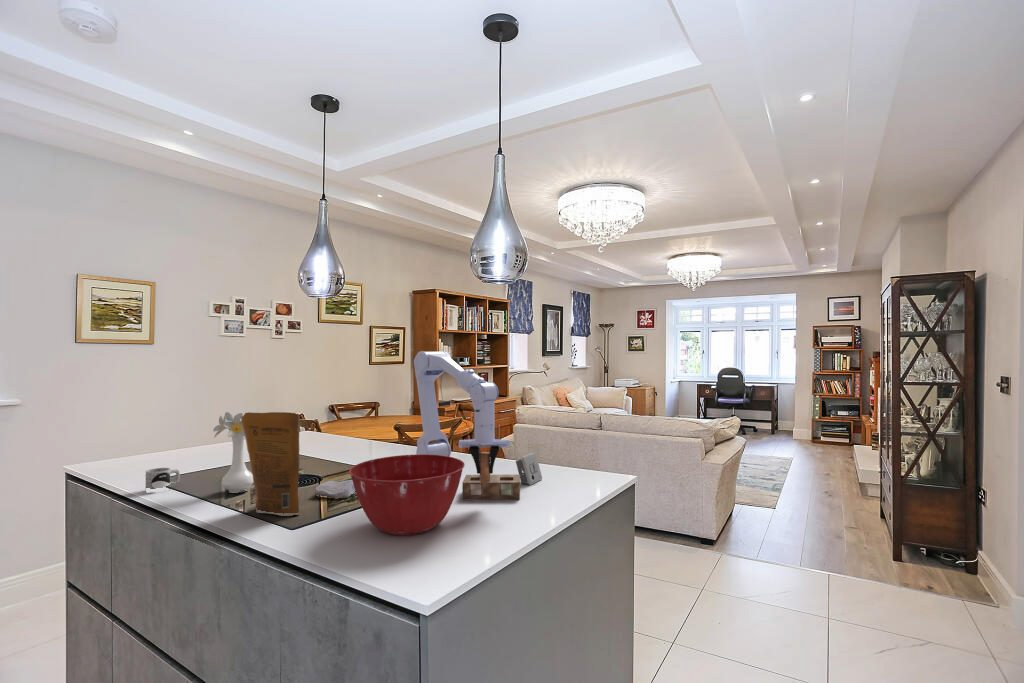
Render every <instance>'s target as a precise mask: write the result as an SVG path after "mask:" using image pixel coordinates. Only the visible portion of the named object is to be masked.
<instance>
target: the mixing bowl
mask: <svg viewBox="0 0 1024 683" xmlns="http://www.w3.org/2000/svg"><path fill="white" fill-rule="evenodd" d="M464 467H465V462H464V461H463V460H461V459H459V458H456V457H453V456H450V457H449V456H442V455H426V454H419V455H416V454H402V455H393V456H385V457H380V458H379V457H378V458H375V459H374V458H373V459H370V460H366V461H363V462H359V463H357V464H355V465H353V466H351V467H350V468H349V470H348V473H349V475H351V476H350V477H351V480H352V481H353V484H354V488H355V491H356V494H355V495H356V496H357V499H358V501H359V504H360V506H361V508H362V509H363V512H364V514H365V515H366V517H367V519H368V521H369V522H370V523H371V524H372V525H373V526H374V527H376V528H377V529H378V530H381V531H382V532H383V531H384V532H383V533H385V534H387V533H388V534H389V535H391V534H392V535H391V536H412V535H420V534H424V533H427V532H429V531H431V530H433V529H434V528H435V527H436V526H438V525H439V524H440V523H441V522H443V520H444V519H445V518H446V516H447V514H448V513H449V511H450V509H451V507H452V504H453V502H454V499H455V498H456V497H455V496H456V495H457V492H458V489H459V485H460V481H461V477H462V474H463V473H462V472H463V469H464ZM423 532H424V533H423ZM419 533H420V534H419Z"/></svg>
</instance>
